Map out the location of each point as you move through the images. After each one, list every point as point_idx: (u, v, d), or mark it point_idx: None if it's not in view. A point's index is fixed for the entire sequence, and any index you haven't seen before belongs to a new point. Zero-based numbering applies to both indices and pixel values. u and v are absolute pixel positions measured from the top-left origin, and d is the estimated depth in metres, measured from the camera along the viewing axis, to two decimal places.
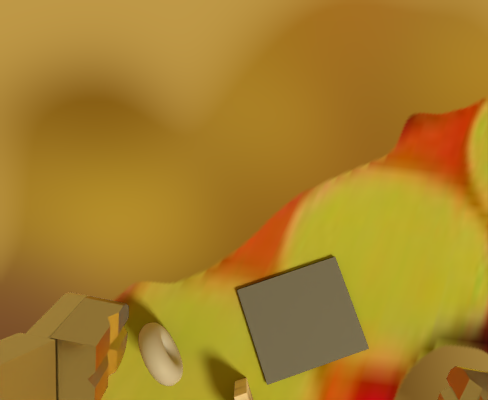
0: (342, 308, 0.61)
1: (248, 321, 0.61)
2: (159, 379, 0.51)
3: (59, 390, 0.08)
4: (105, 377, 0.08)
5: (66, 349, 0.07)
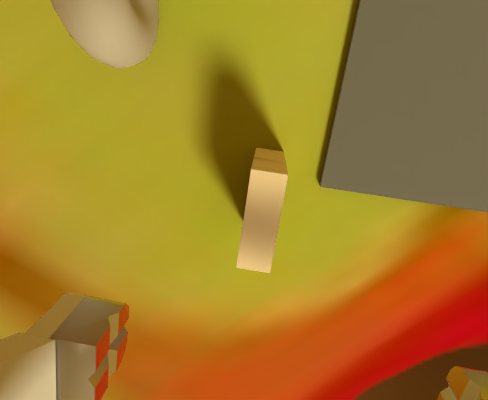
0: None
1: (358, 27, 0.22)
2: (61, 8, 0.15)
3: (59, 390, 0.08)
4: (105, 378, 0.08)
5: (66, 349, 0.07)
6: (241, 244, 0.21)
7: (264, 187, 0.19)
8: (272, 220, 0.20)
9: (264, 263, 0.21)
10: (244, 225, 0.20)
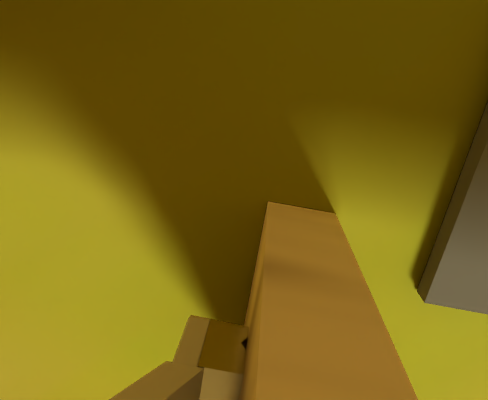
0: None
1: None
2: None
3: None
4: None
5: (213, 377, 0.07)
6: None
7: None
8: None
9: None
10: None
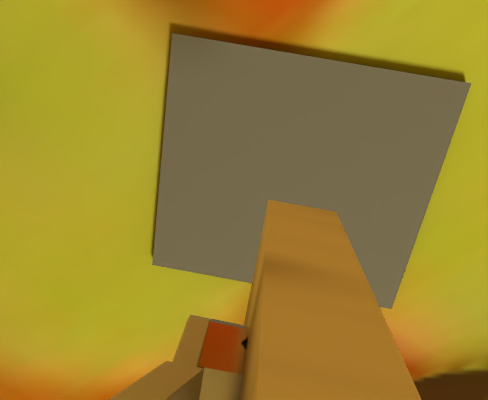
0: (395, 211, 0.24)
1: (167, 125, 0.23)
2: None
3: None
4: None
5: (213, 377, 0.07)
6: None
7: None
8: None
9: None
10: None
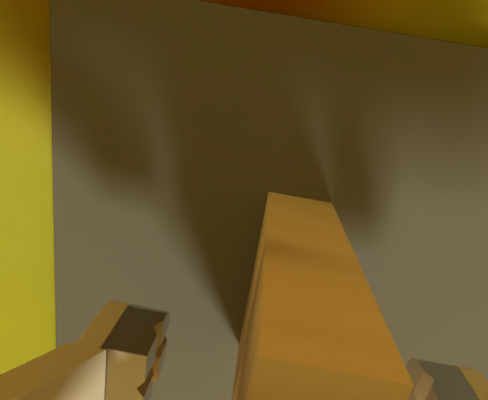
0: None
1: (59, 171, 0.12)
2: None
3: (107, 399, 0.08)
4: (150, 386, 0.08)
5: (116, 359, 0.07)
6: None
7: None
8: None
9: None
10: None
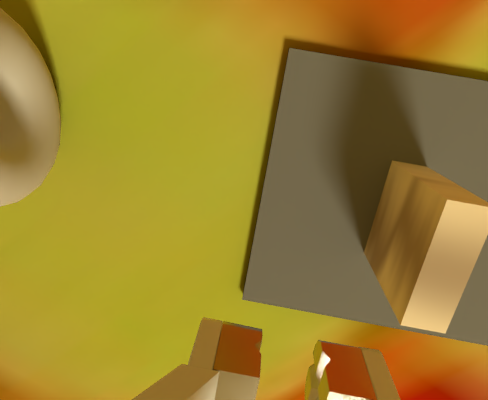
0: None
1: (274, 149, 0.21)
2: None
3: None
4: None
5: (228, 380, 0.07)
6: (413, 296, 0.15)
7: (461, 224, 0.14)
8: (463, 267, 0.15)
9: (440, 321, 0.16)
10: (422, 272, 0.15)
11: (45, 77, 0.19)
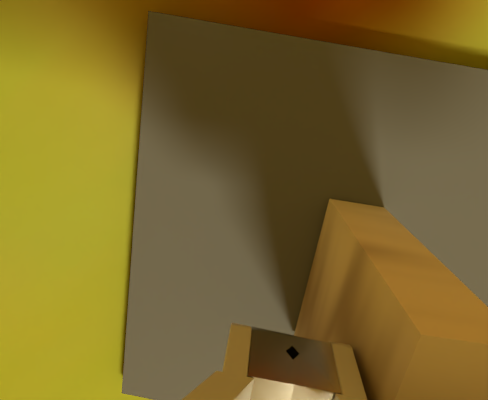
0: None
1: (142, 178, 0.13)
2: None
3: None
4: None
5: (262, 387, 0.07)
6: None
7: (452, 382, 0.06)
8: None
9: None
10: None
11: None
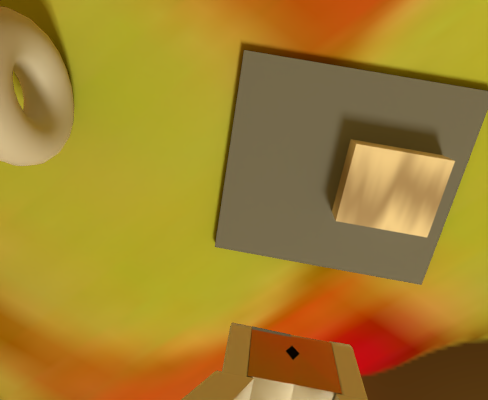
0: None
1: (235, 126, 0.28)
2: None
3: None
4: None
5: (262, 387, 0.07)
6: (433, 218, 0.27)
7: None
8: None
9: None
10: (438, 203, 0.26)
11: (63, 71, 0.26)
